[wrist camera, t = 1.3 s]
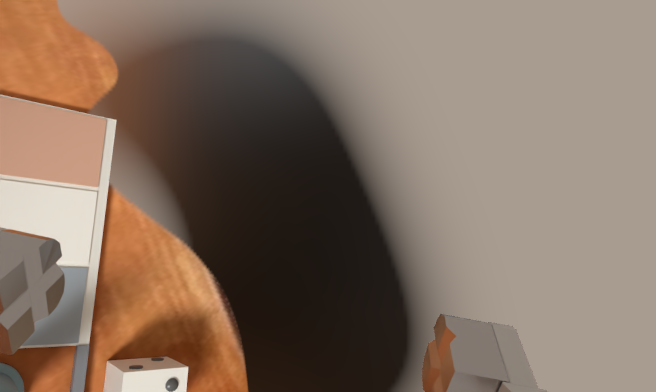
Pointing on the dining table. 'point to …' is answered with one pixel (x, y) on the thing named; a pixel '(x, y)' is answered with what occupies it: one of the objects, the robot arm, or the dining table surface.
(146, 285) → the dining table surface
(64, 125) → the game board
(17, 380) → the pawn
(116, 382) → the die
